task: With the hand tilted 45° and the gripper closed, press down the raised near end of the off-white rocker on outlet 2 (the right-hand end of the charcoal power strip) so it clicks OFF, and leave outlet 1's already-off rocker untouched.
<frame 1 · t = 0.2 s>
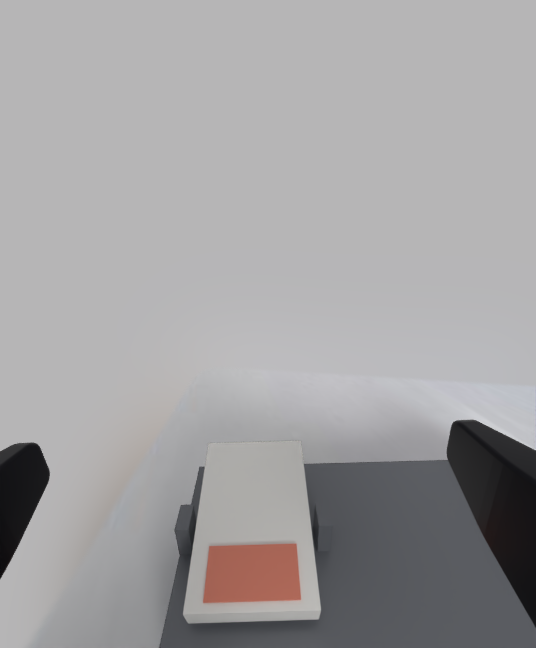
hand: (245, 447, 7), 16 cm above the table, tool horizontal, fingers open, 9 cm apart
power strip: (401, 605, 18), on the table
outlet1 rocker: (254, 515, 15), point 8 cm above the table, hinge at 12.0°
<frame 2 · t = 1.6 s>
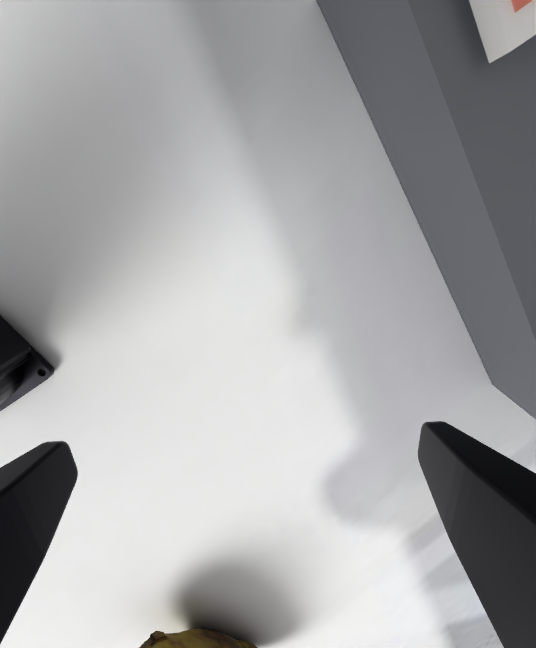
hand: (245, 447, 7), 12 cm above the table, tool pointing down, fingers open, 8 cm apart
power strip: (503, 181, 16), on the table
potato: (204, 624, 30), on the table
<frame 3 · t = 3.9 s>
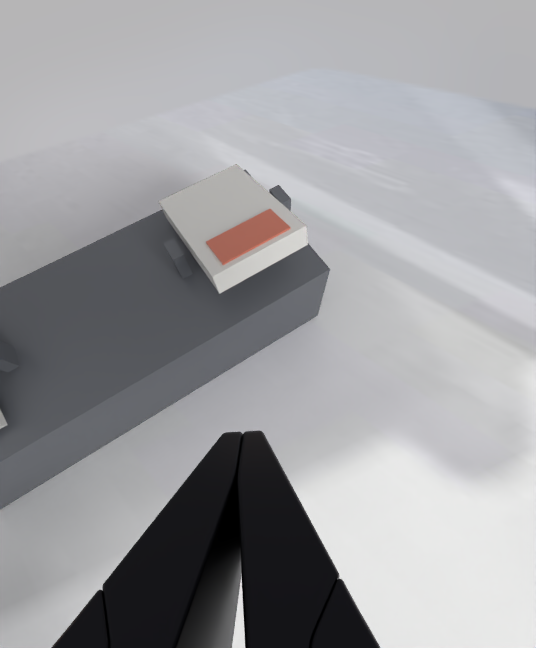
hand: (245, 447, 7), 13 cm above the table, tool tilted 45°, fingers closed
power strip: (145, 348, 22), on the table
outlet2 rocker: (228, 221, 17), point 8 cm above the table, hinge at -12.0°
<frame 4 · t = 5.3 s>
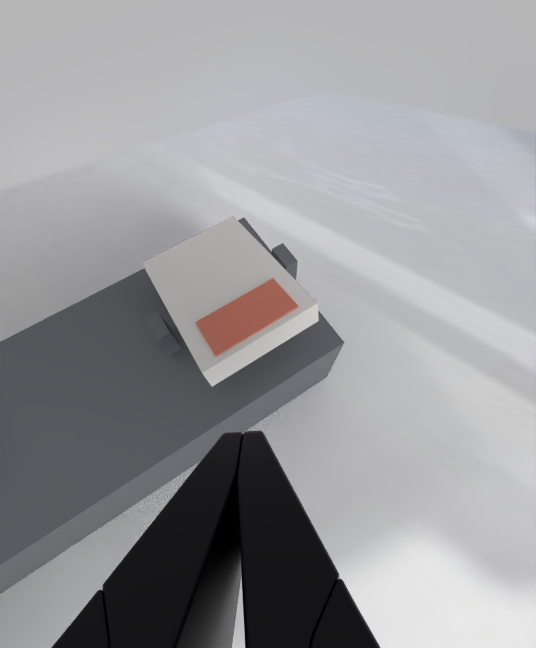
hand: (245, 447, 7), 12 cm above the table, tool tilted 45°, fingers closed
power strip: (130, 416, 19), on the table
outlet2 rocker: (223, 289, 14), point 8 cm above the table, hinge at -12.0°
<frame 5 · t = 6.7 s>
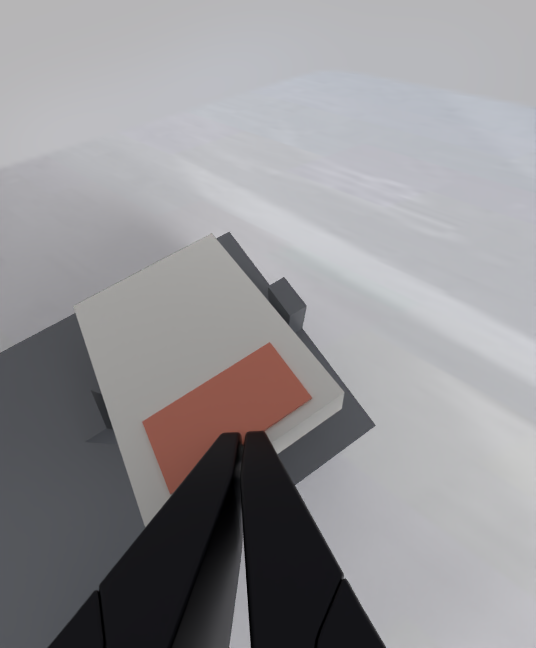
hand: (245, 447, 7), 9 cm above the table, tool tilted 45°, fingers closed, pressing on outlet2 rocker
power strip: (82, 495, 15), on the table
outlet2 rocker: (194, 351, 9), point 8 cm above the table, hinge at -11.7°, touching gripper
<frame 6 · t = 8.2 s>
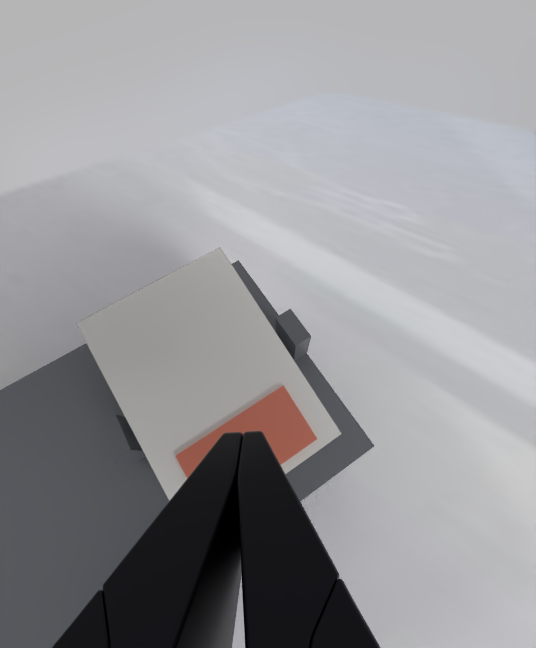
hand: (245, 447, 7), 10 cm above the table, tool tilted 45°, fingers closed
power strip: (97, 505, 16), on the table
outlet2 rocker: (209, 379, 10), point 8 cm above the table, hinge at 11.2°
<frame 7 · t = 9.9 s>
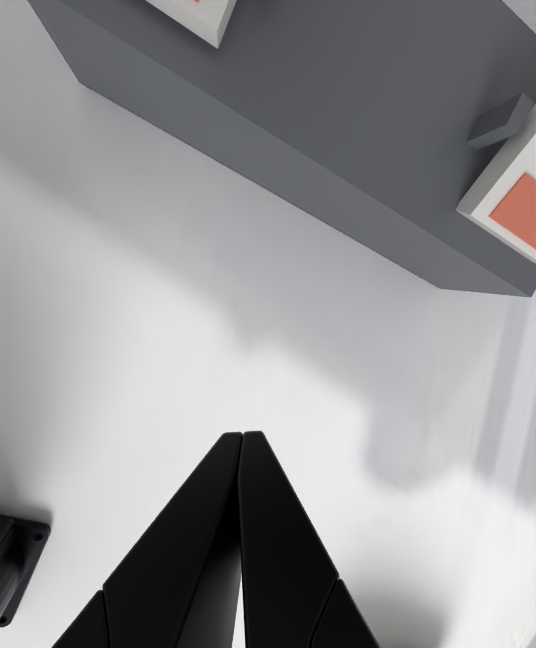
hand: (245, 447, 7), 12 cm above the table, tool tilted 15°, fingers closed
power strip: (325, 128, 18), on the table
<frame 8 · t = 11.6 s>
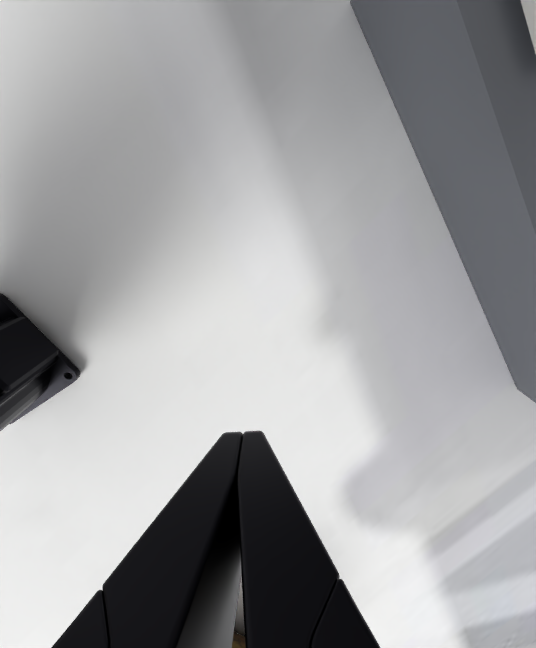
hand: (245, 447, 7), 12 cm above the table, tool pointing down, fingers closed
power strip: (534, 185, 16), on the table
potato: (223, 625, 30), on the table
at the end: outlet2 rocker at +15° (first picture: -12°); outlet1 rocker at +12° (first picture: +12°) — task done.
